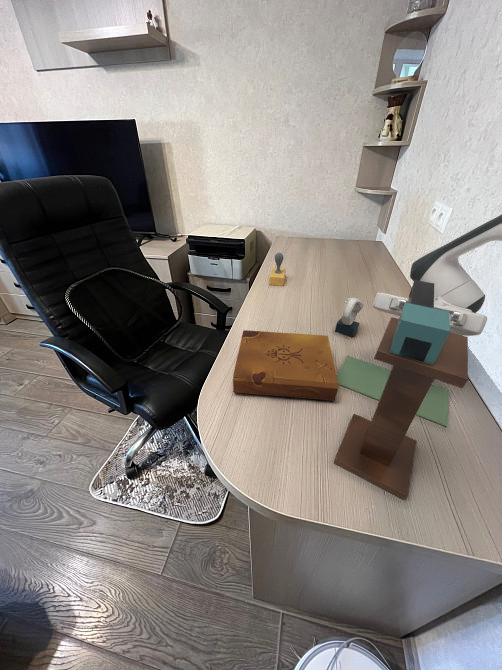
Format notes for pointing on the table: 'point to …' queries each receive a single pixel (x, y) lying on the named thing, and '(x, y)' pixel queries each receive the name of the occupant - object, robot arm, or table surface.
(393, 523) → the table surface
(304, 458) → the table surface
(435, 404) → the mat
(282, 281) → the rubber stamp
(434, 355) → the teal headed hammer
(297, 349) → the diary
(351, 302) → the watch
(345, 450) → the stand
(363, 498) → the table surface
